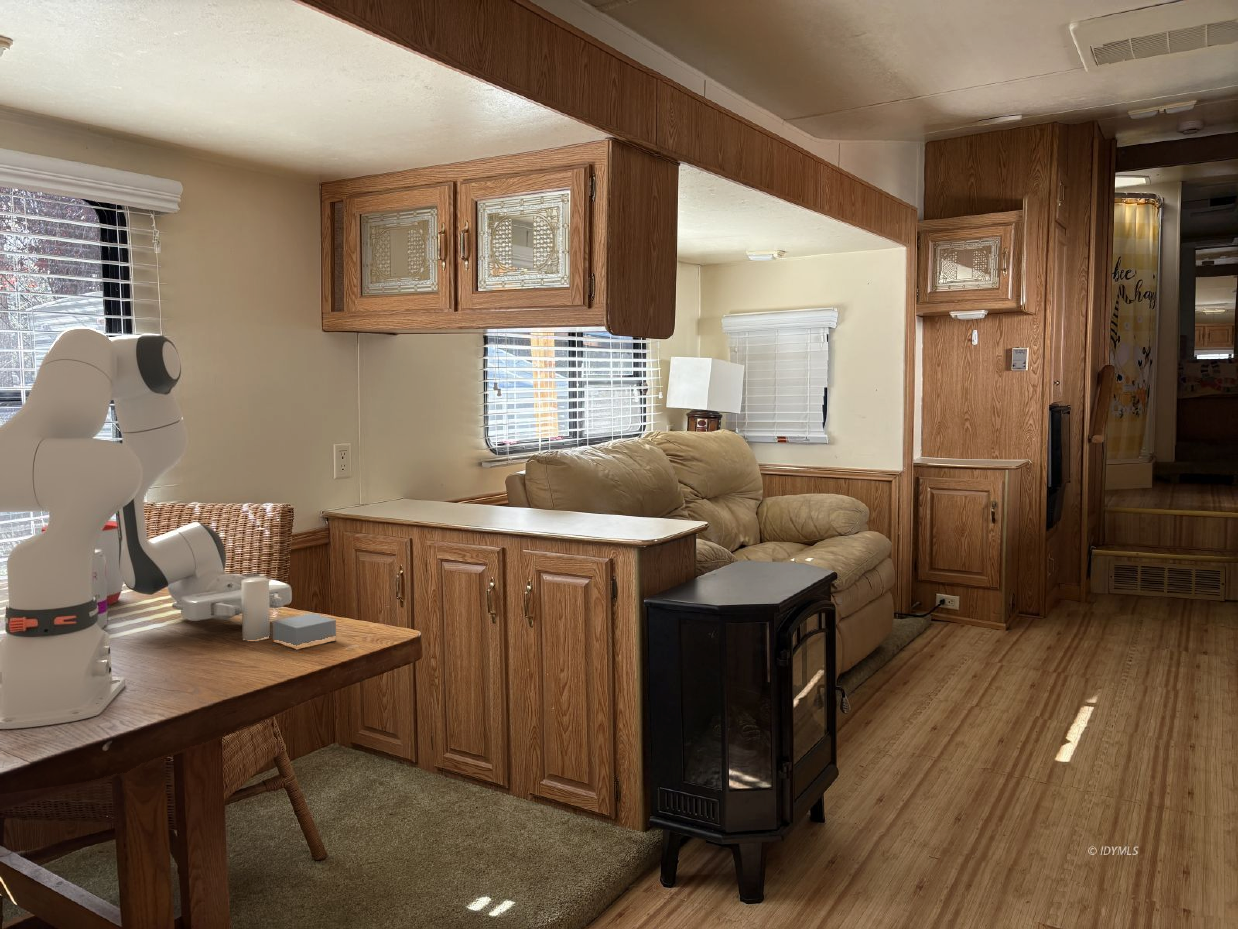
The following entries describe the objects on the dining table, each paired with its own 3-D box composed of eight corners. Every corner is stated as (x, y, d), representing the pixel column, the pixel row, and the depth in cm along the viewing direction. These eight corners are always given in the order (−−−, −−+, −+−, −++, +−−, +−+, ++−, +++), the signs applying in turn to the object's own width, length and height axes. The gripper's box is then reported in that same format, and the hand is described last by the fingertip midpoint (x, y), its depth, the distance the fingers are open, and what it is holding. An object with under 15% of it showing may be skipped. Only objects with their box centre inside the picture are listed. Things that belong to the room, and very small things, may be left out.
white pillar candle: (271, 640, 174) (269, 581, 173) (243, 642, 172) (242, 583, 171) (269, 633, 179) (267, 576, 178) (241, 636, 177) (240, 578, 176)
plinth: (336, 641, 174) (335, 620, 173) (296, 650, 168) (296, 628, 167) (312, 633, 179) (311, 613, 179) (273, 642, 173) (273, 620, 172)
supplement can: (92, 621, 187) (89, 546, 185) (116, 626, 182) (113, 550, 181) (50, 630, 180) (46, 552, 178) (74, 636, 175) (71, 557, 174)
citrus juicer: (21, 607, 197) (17, 513, 196) (105, 592, 212) (102, 505, 210) (58, 618, 189) (54, 519, 187) (143, 602, 203) (140, 510, 201)
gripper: (167, 588, 175) (202, 599, 166) (269, 572, 191) (306, 582, 182) (168, 621, 176) (203, 634, 167) (269, 603, 191) (306, 614, 182)
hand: (257, 607), depth 174 cm, fingers open, 7 cm apart
